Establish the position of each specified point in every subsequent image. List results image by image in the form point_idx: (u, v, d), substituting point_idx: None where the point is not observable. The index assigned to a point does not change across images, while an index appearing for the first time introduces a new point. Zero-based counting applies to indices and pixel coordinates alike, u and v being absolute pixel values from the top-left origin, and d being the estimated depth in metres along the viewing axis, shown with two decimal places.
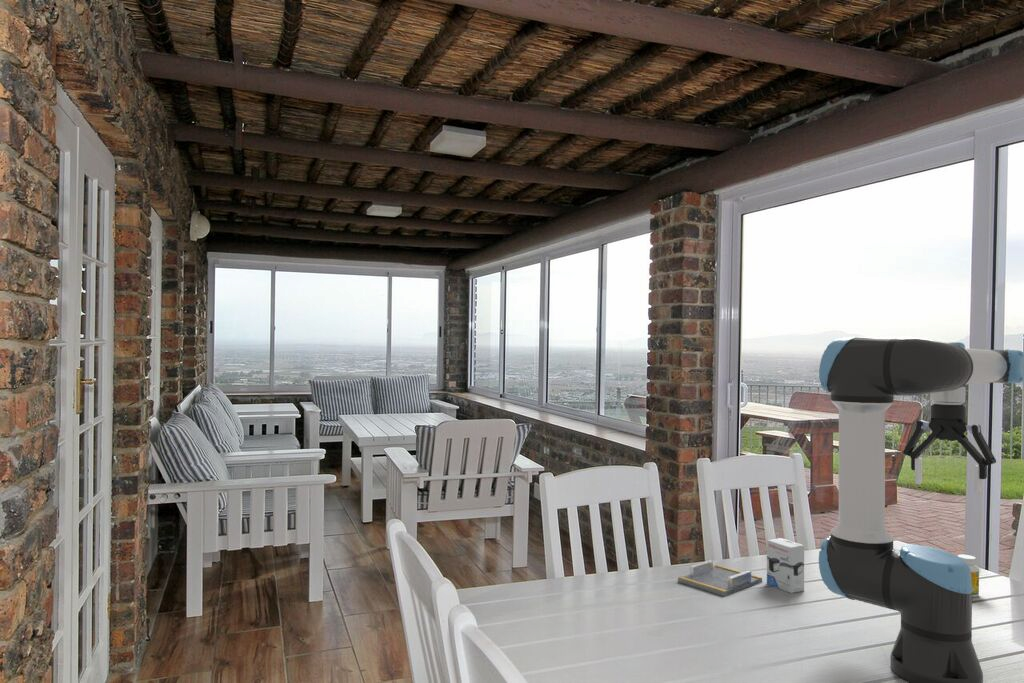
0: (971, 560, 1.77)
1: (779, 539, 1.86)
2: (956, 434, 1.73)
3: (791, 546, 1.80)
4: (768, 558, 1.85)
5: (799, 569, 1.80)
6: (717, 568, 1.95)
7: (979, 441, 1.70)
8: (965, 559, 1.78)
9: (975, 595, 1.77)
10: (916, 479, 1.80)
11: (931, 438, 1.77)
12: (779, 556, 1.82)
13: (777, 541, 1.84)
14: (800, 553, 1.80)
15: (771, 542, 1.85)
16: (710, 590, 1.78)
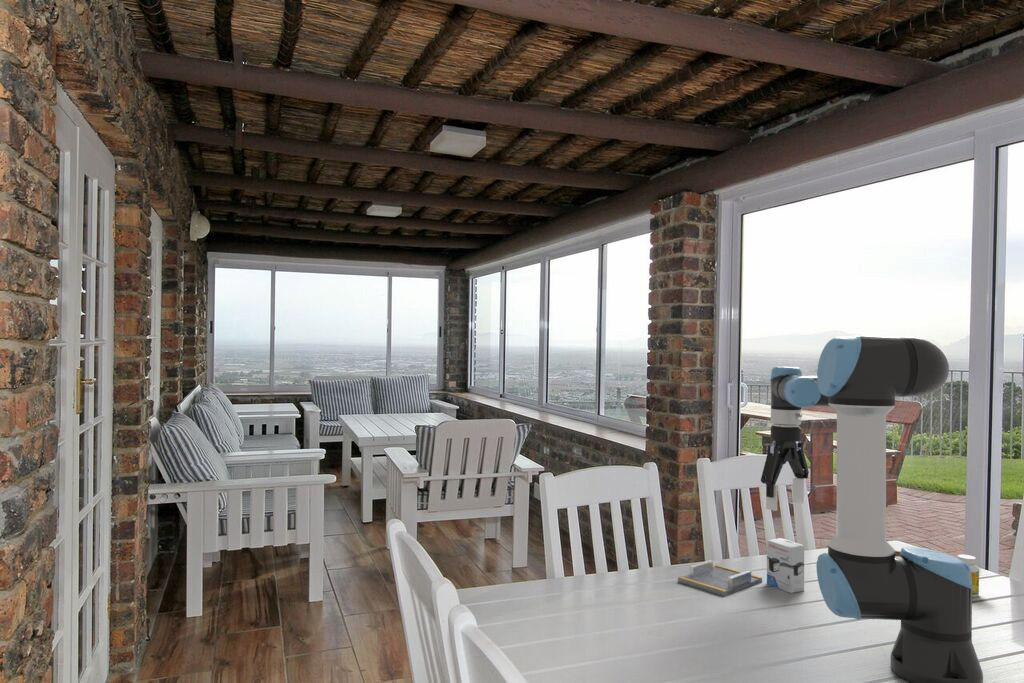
0: (971, 560, 1.77)
1: (779, 539, 1.86)
2: None
3: (791, 546, 1.80)
4: (768, 558, 1.85)
5: (799, 569, 1.80)
6: (717, 568, 1.95)
7: None
8: (965, 559, 1.78)
9: (975, 595, 1.77)
10: None
11: None
12: (779, 556, 1.82)
13: (777, 541, 1.84)
14: (800, 553, 1.80)
15: (771, 542, 1.85)
16: (710, 590, 1.78)
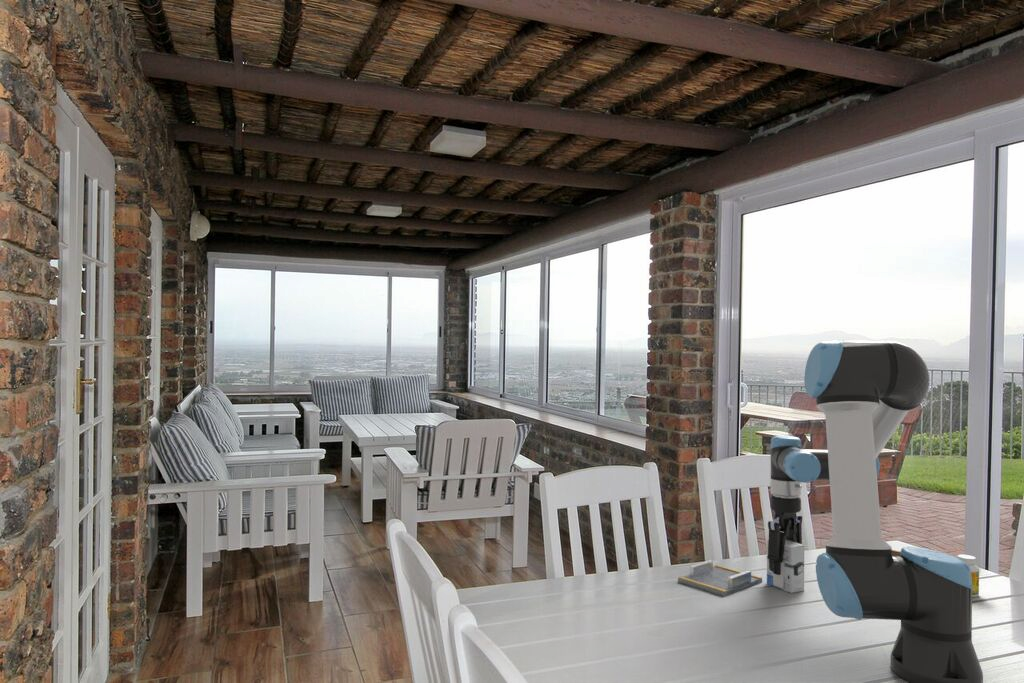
0: (971, 560, 1.77)
1: None
2: None
3: (791, 546, 1.80)
4: None
5: (799, 568, 1.80)
6: (717, 568, 1.95)
7: None
8: (965, 559, 1.78)
9: (975, 595, 1.77)
10: None
11: None
12: None
13: None
14: (800, 553, 1.80)
15: None
16: (710, 590, 1.78)
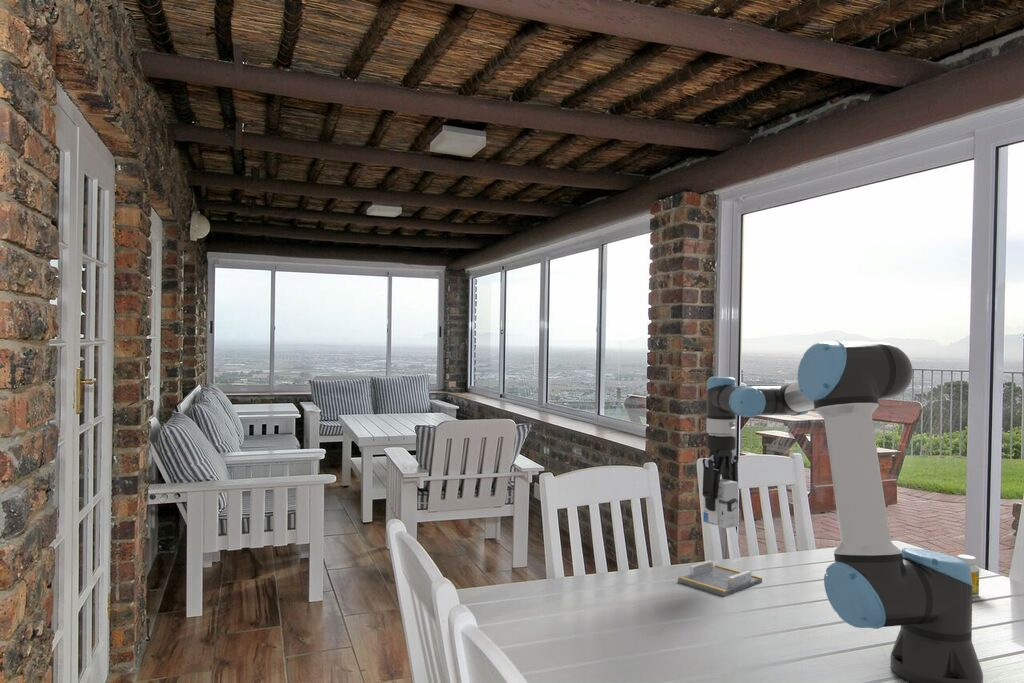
0: (971, 560, 1.77)
1: None
2: None
3: (725, 483, 1.84)
4: None
5: (733, 505, 1.83)
6: (717, 568, 1.95)
7: None
8: (965, 559, 1.78)
9: (975, 595, 1.77)
10: None
11: None
12: None
13: None
14: (734, 490, 1.84)
15: None
16: (710, 590, 1.78)
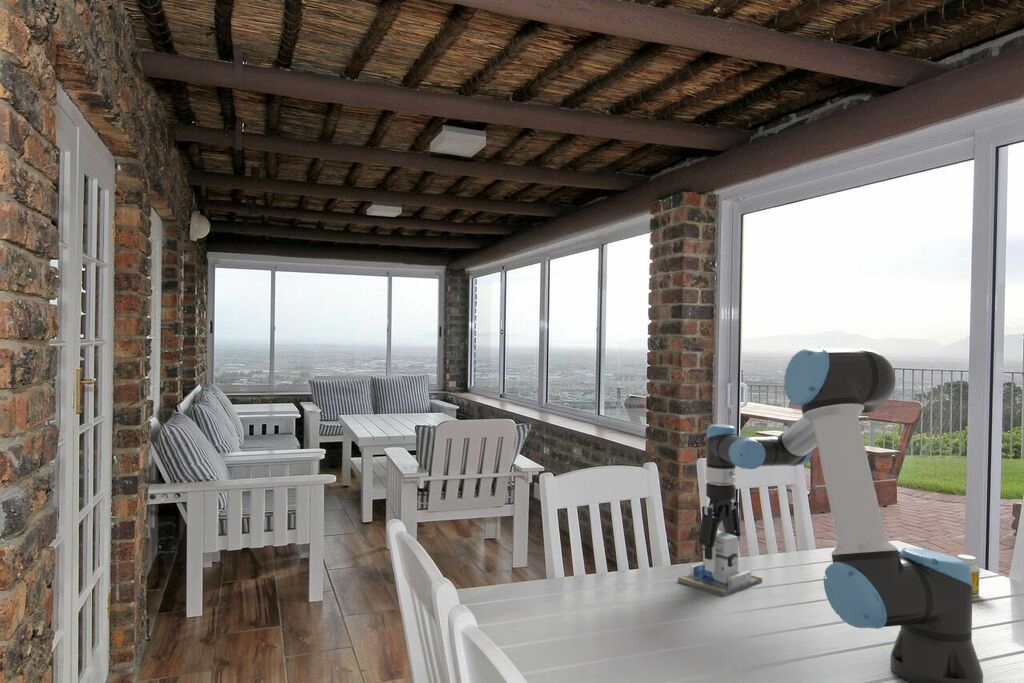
0: (971, 560, 1.77)
1: None
2: None
3: (725, 538, 1.83)
4: (704, 550, 1.89)
5: (733, 560, 1.83)
6: None
7: None
8: (965, 559, 1.78)
9: (975, 595, 1.77)
10: None
11: None
12: None
13: None
14: (734, 544, 1.83)
15: None
16: (710, 590, 1.78)
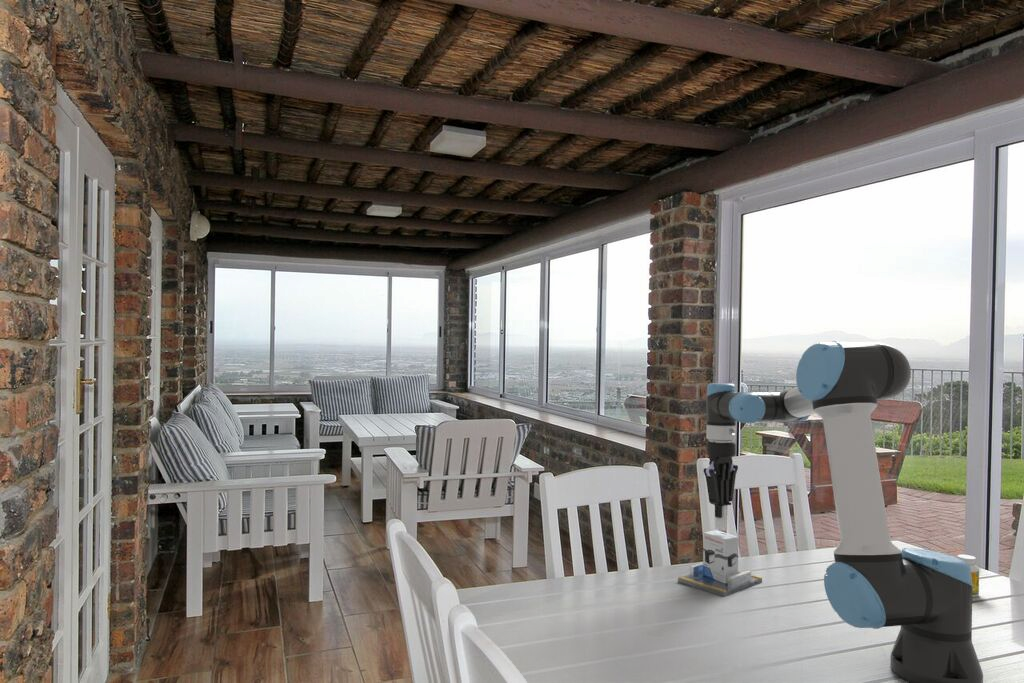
0: (971, 560, 1.77)
1: (715, 531, 1.90)
2: None
3: (725, 538, 1.83)
4: (704, 550, 1.89)
5: (733, 560, 1.83)
6: None
7: None
8: (965, 559, 1.78)
9: (975, 595, 1.77)
10: None
11: None
12: (714, 547, 1.85)
13: (712, 533, 1.88)
14: (734, 544, 1.83)
15: (707, 534, 1.88)
16: (710, 590, 1.78)
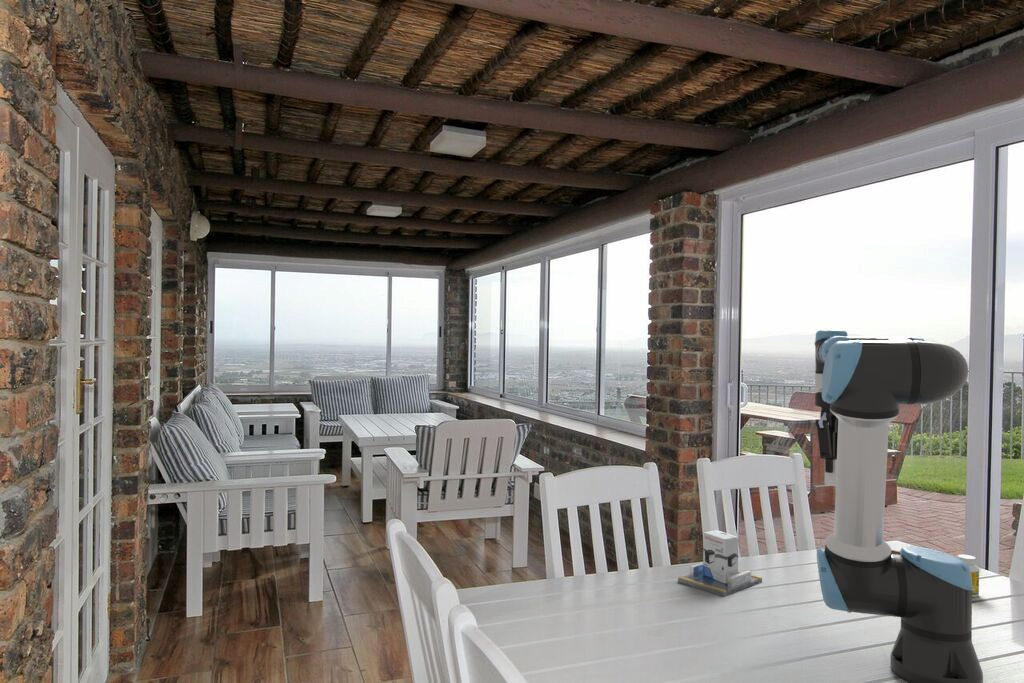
0: (971, 560, 1.77)
1: (715, 531, 1.90)
2: None
3: (725, 538, 1.83)
4: (704, 550, 1.89)
5: (733, 560, 1.83)
6: None
7: None
8: (965, 559, 1.78)
9: (975, 595, 1.77)
10: None
11: None
12: (714, 547, 1.85)
13: (712, 533, 1.88)
14: (734, 544, 1.83)
15: (707, 534, 1.88)
16: (710, 590, 1.78)
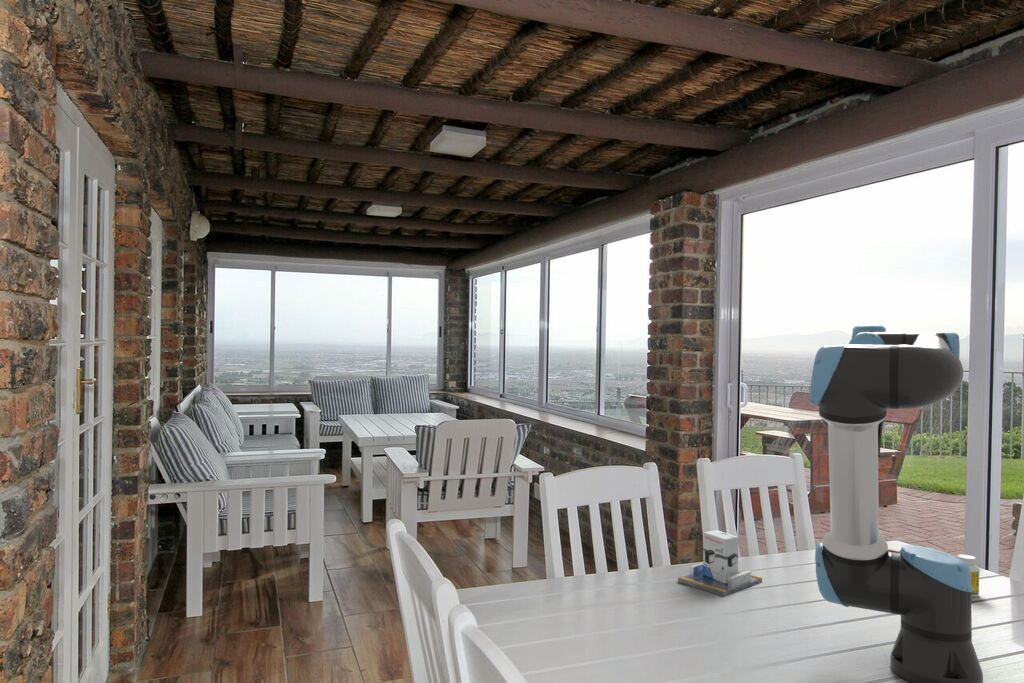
0: (971, 560, 1.77)
1: (715, 531, 1.90)
2: None
3: (725, 538, 1.83)
4: (704, 550, 1.89)
5: (733, 560, 1.83)
6: None
7: None
8: (965, 559, 1.78)
9: (975, 595, 1.77)
10: None
11: None
12: (714, 547, 1.85)
13: (712, 533, 1.88)
14: (734, 544, 1.83)
15: (707, 534, 1.88)
16: (710, 590, 1.78)
